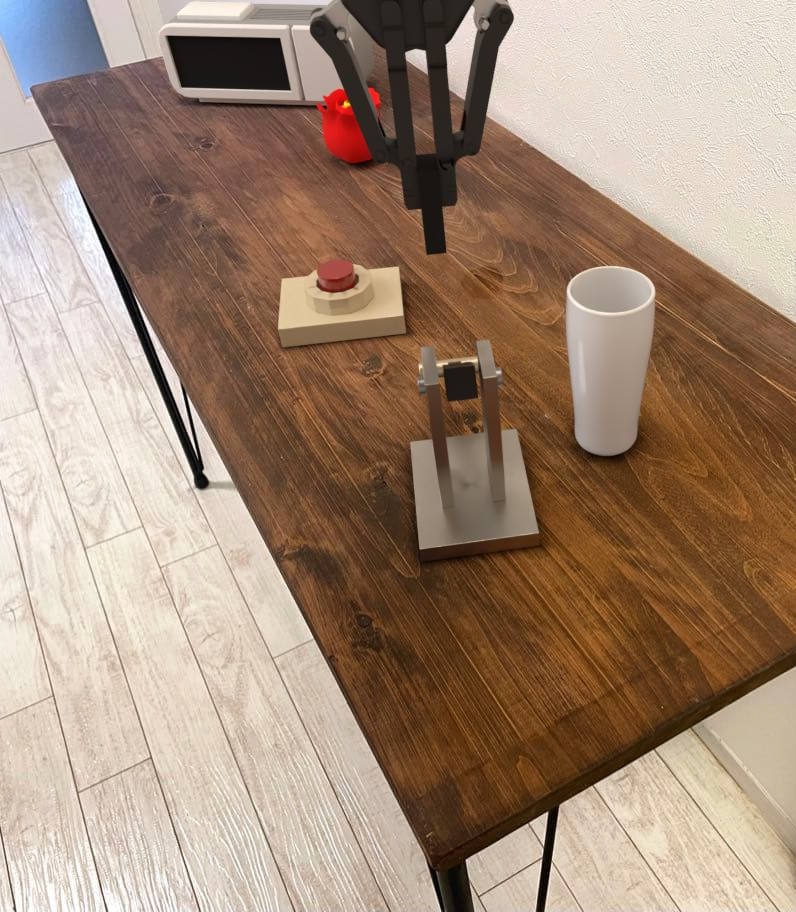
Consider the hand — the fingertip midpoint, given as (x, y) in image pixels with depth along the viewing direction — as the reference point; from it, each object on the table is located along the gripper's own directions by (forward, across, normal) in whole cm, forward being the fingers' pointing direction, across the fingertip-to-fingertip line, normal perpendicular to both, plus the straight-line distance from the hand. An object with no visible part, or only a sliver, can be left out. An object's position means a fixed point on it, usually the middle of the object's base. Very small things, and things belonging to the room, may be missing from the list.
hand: (435, 244), depth 69 cm
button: (+14, +9, -18) cm, 25 cm away
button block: (+18, +9, -18) cm, 27 cm away
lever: (+10, -1, +5) cm, 11 cm away
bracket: (+18, -1, +10) cm, 20 cm away
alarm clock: (+18, +19, -76) cm, 81 cm away
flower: (+18, +8, -54) cm, 57 cm away
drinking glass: (+18, -13, +4) cm, 22 cm away
